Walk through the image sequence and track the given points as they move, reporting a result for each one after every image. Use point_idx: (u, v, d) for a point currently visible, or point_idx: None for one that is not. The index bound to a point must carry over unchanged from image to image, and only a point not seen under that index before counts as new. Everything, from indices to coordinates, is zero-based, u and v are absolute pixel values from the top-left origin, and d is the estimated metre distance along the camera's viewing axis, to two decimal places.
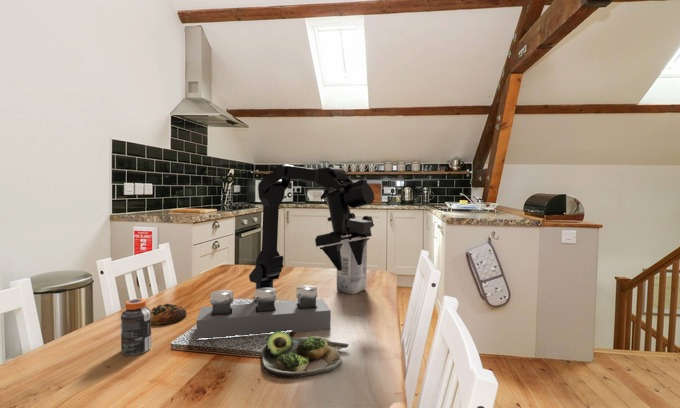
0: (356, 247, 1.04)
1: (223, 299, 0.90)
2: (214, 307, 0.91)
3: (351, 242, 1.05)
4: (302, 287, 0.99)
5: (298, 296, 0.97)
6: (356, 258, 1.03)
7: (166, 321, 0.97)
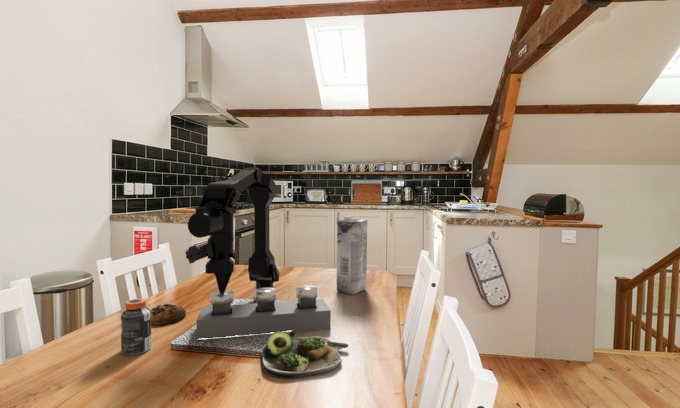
0: None
1: (223, 299, 0.90)
2: (214, 307, 0.91)
3: None
4: (302, 287, 0.99)
5: (298, 296, 0.97)
6: None
7: (166, 321, 0.97)
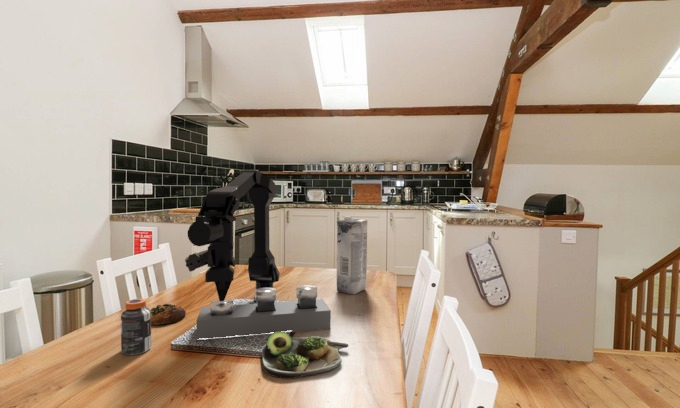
0: None
1: (223, 309, 0.91)
2: None
3: None
4: (302, 287, 0.99)
5: (298, 296, 0.97)
6: None
7: (165, 321, 0.97)
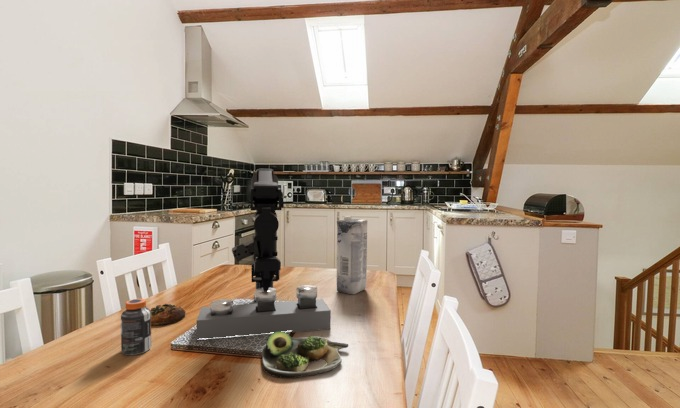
0: None
1: (223, 309, 0.91)
2: None
3: None
4: (302, 287, 0.99)
5: (298, 296, 0.97)
6: None
7: (165, 321, 0.97)
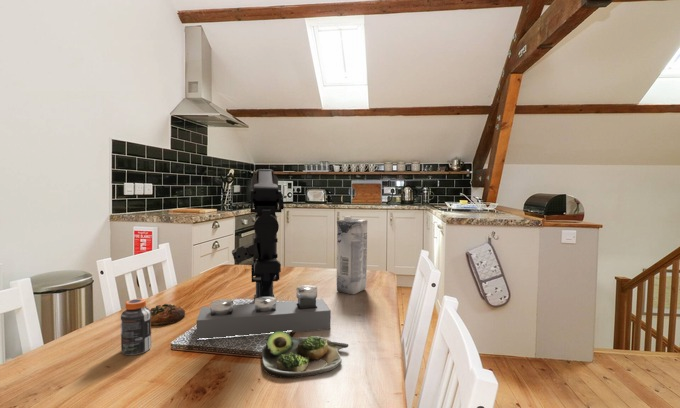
0: None
1: (223, 309, 0.91)
2: None
3: None
4: (302, 287, 0.99)
5: (298, 296, 0.97)
6: None
7: (165, 321, 0.97)
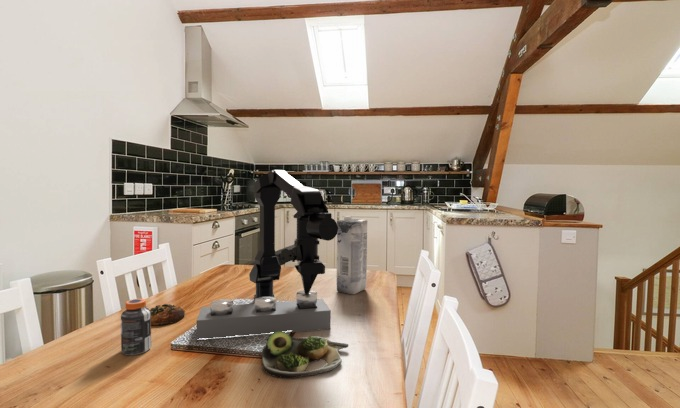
0: None
1: (223, 309, 0.91)
2: None
3: None
4: (302, 292, 0.99)
5: (298, 301, 0.97)
6: None
7: (164, 321, 0.97)
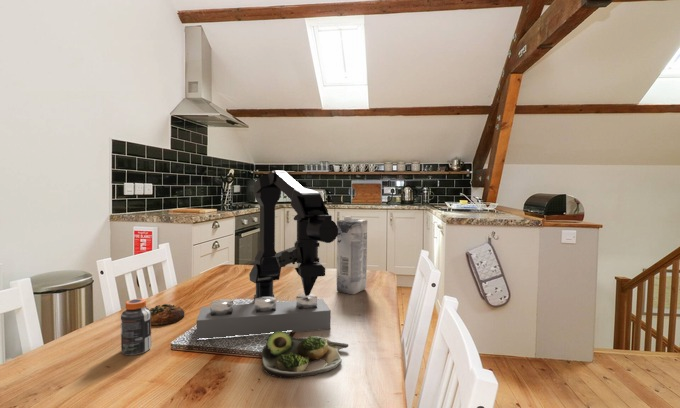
0: None
1: (223, 309, 0.91)
2: None
3: None
4: (302, 296, 0.99)
5: (298, 305, 0.97)
6: None
7: (164, 321, 0.97)
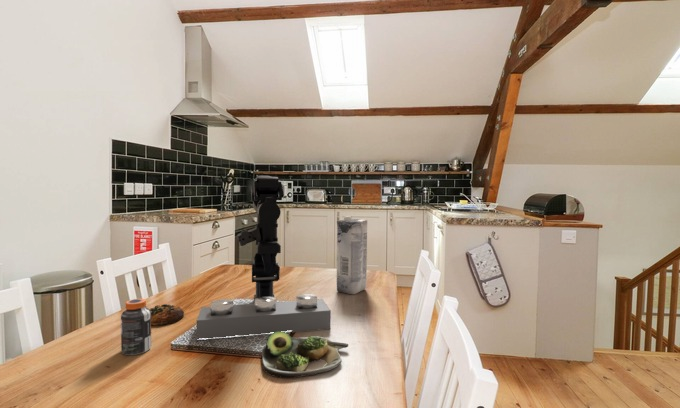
0: None
1: (223, 309, 0.91)
2: None
3: None
4: (302, 296, 0.99)
5: (298, 305, 0.97)
6: None
7: (163, 321, 0.97)
